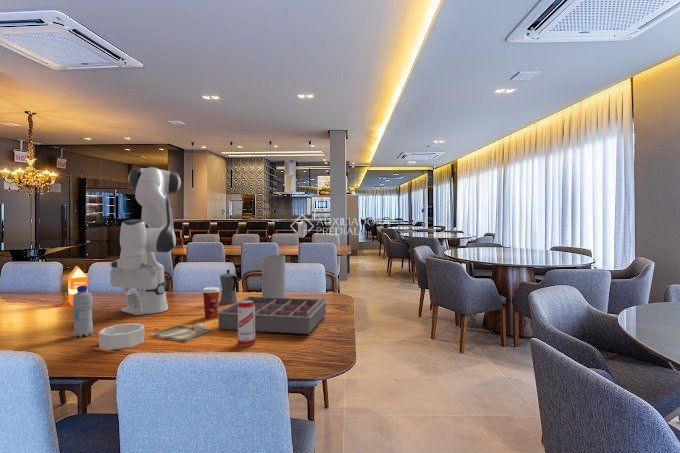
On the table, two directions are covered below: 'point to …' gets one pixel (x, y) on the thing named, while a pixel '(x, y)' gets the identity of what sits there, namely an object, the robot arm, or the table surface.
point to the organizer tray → (278, 314)
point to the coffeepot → (228, 288)
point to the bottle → (82, 312)
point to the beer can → (246, 322)
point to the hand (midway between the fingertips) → (134, 299)
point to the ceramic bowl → (121, 336)
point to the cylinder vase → (273, 276)
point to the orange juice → (76, 282)
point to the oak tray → (180, 333)
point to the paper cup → (211, 302)
